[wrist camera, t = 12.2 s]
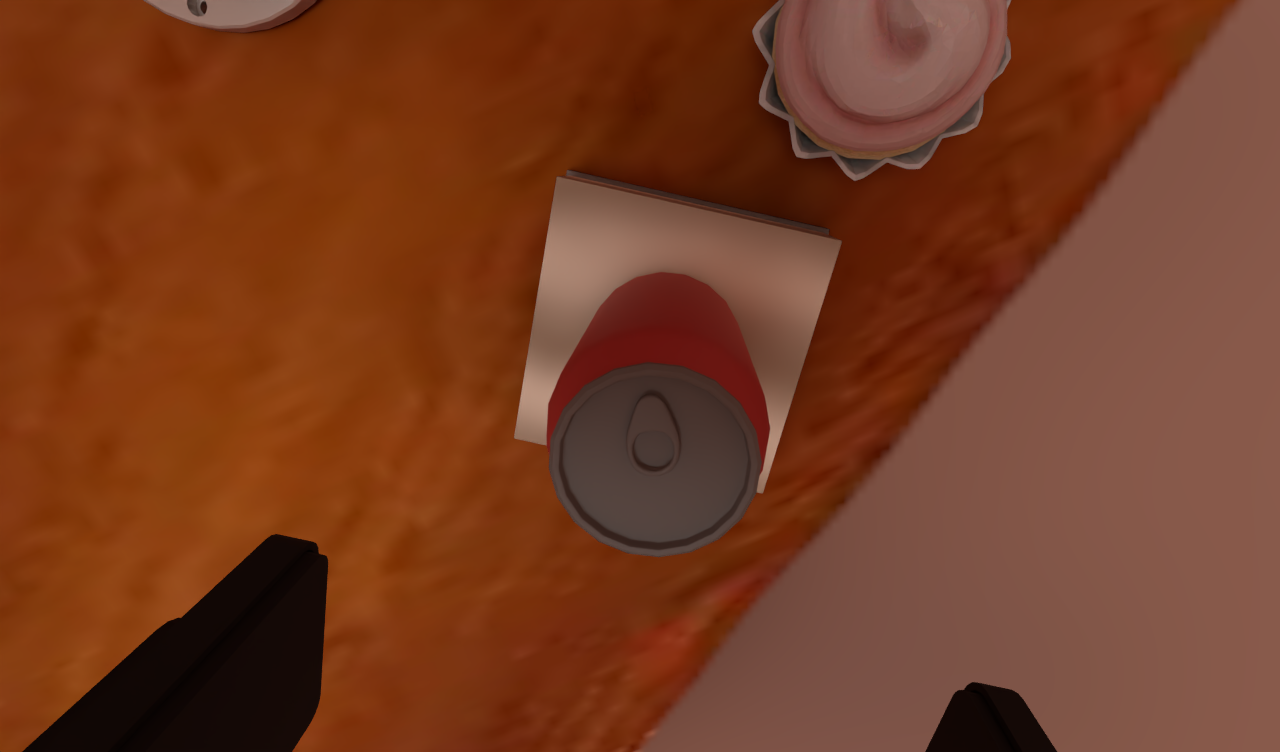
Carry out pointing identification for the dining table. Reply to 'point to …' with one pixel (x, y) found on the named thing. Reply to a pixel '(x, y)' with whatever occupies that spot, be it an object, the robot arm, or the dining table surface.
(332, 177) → the dining table surface
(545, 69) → the dining table surface
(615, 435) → the beer can
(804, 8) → the cupcake
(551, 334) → the stand
